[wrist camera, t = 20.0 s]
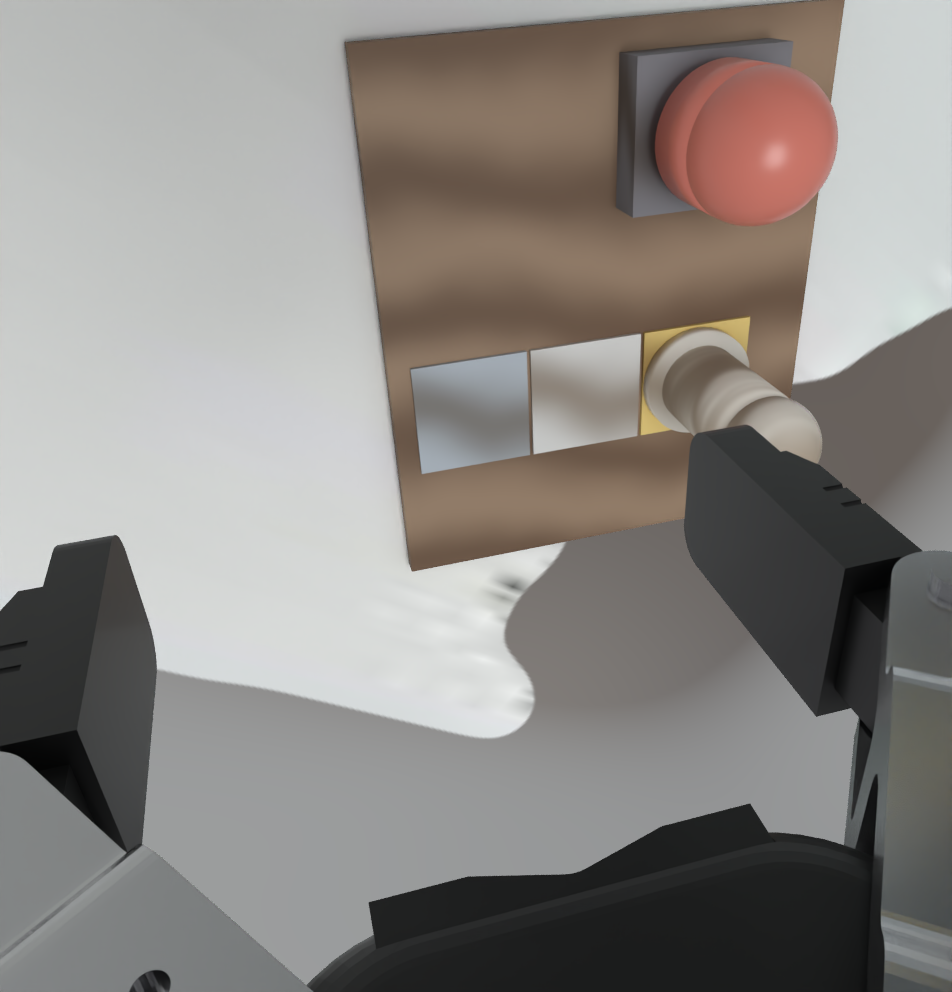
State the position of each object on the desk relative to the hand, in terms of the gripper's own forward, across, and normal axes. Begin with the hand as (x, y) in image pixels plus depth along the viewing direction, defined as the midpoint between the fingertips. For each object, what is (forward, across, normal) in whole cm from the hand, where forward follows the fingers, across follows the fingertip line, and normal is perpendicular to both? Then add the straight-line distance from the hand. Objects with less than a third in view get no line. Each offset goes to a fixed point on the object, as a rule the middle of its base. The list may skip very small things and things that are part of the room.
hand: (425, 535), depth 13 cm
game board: (+30, -14, +9) cm, 34 cm away
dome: (+26, -18, 0) cm, 32 cm away
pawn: (+29, -19, +13) cm, 37 cm away
